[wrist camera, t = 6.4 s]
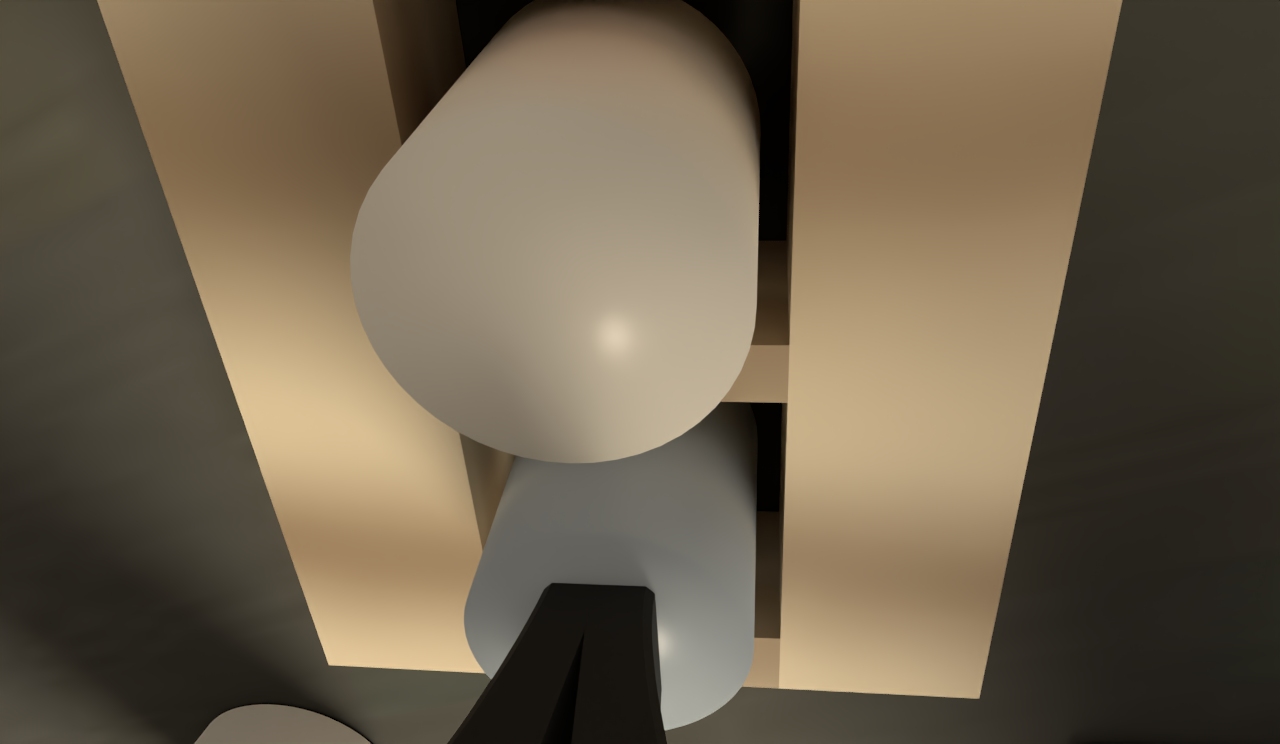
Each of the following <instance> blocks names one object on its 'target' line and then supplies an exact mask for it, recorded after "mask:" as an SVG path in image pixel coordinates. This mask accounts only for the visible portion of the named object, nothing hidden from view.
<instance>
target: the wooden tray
mask: <svg viewBox="0 0 1280 744" xmlns="http://www.w3.org/2000/svg"><path fill="white" fill-rule="evenodd" d="M97 2H98V5H99V7H100V10H101V13H102V16H103V19H104V22H105V25H106V27H107V30H108V33H109V36H110V39H111V42H112V45H113V48H114V50H115V53H116V56H117V59H118V62H119V65H120V68H121V70H122V73H123V76H124V79H125V82H126V85H127V88H128V91H129V93H130V96H131V99H132V102H133V105H134V108H135V111H136V113H137V116H138V119H139V122H140V125H141V128H142V131H143V134H144V136H145V139H146V142H147V145H148V148H149V151H150V154H151V156H152V159H153V162H154V165H155V168H156V171H157V174H158V177H159V179H160V182H161V185H162V188H163V191H164V194H165V197H166V200H167V202H168V205H169V208H170V211H171V214H172V217H173V220H174V222H175V225H176V228H177V231H178V234H179V237H180V240H181V243H182V245H183V248H184V251H185V254H186V257H187V260H188V263H189V265H190V268H191V271H192V274H193V277H194V280H195V283H196V286H197V288H198V291H199V294H200V297H201V300H202V303H203V306H204V308H205V311H206V314H207V317H208V320H209V323H210V326H211V329H212V331H213V334H214V337H215V340H216V343H217V346H218V349H219V351H220V354H221V357H222V360H223V363H224V366H225V369H226V372H227V374H228V377H229V380H230V383H231V386H232V389H233V392H234V394H235V397H236V400H237V403H238V406H239V409H240V412H241V415H242V417H243V420H244V423H245V426H246V429H247V432H248V435H249V437H250V440H251V443H252V446H253V449H254V452H255V455H256V458H257V460H258V463H259V466H260V469H261V472H262V475H263V478H264V481H265V483H266V486H267V489H268V492H269V495H270V498H271V501H272V503H273V506H274V509H275V512H276V515H277V518H278V521H279V524H280V526H281V529H282V532H283V535H284V538H285V541H286V544H287V546H288V549H289V552H290V555H291V558H292V561H293V564H294V567H295V569H296V572H297V575H298V578H299V581H300V584H301V587H302V589H303V592H304V595H305V598H306V601H307V604H308V607H309V610H310V612H311V615H312V618H313V621H314V624H315V627H316V630H317V632H318V635H319V638H320V641H321V644H322V647H323V650H324V653H325V655H326V658H327V661H328V664H329V665H338V666H357V667H376V668H396V669H415V670H434V671H454V672H473V673H485V672H484V671H483V669H482V668H481V667H480V665H479V664H478V662H477V661H476V659H475V657H474V655H473V653H472V651H471V649H470V647H469V644H468V641H467V638H466V635H465V628H464V609H465V605H466V601H467V597H468V594H469V591H470V588H471V585H472V582H473V579H474V576H475V573H476V571H477V568H478V565H479V562H480V559H481V556H482V553H483V550H484V547H485V544H486V541H487V538H488V535H489V532H490V529H491V526H492V523H493V521H494V518H495V515H496V512H497V509H498V506H499V503H500V500H501V497H502V494H503V491H504V488H505V485H506V482H507V479H508V476H509V474H510V471H511V468H512V465H513V462H514V459H515V456H516V455H513V454H510V453H506V452H502V451H499V450H497V449H494V448H492V447H489V446H487V445H484V444H482V443H479V442H477V441H475V440H473V439H471V438H469V437H467V436H465V435H463V434H461V433H459V432H457V431H455V430H454V429H452V428H451V427H449V426H448V425H446V424H445V423H443V422H442V421H440V420H438V419H437V418H435V417H434V416H433V415H432V414H431V413H429V412H428V411H427V410H426V409H424V408H423V407H422V406H421V405H419V404H418V403H417V402H416V401H415V400H414V399H413V398H412V397H411V396H410V395H409V394H408V393H407V392H406V391H405V390H404V389H403V388H402V387H401V386H400V385H399V384H398V383H397V381H396V380H395V379H394V378H393V376H392V375H391V374H390V373H389V371H388V370H387V369H386V368H385V366H384V365H383V363H382V362H381V360H380V358H379V357H378V355H377V354H376V352H375V350H374V349H373V347H372V345H371V343H370V341H369V339H368V337H367V335H366V333H365V330H364V328H363V326H362V323H361V320H360V317H359V314H358V311H357V308H356V305H355V301H354V295H353V289H352V284H351V270H350V253H351V244H352V236H353V231H354V227H355V224H356V220H357V216H358V213H359V210H360V208H361V206H362V203H363V201H364V199H365V197H366V195H367V192H368V190H369V188H370V187H371V185H372V184H373V182H374V181H375V179H376V178H377V176H378V175H379V174H380V172H381V171H382V169H383V168H384V167H385V165H386V164H387V163H388V162H389V161H390V159H391V158H392V157H393V156H394V155H395V154H396V152H397V151H398V150H399V149H400V148H401V146H402V145H403V144H404V143H405V142H406V140H407V139H408V138H409V137H410V136H411V134H412V133H413V132H414V131H415V130H416V129H417V127H418V126H419V125H420V124H421V123H422V121H423V120H424V119H425V118H426V117H427V115H428V114H429V113H430V112H431V111H432V109H433V108H434V107H435V106H436V105H437V103H438V102H439V101H440V100H441V99H442V98H443V96H444V95H445V94H446V93H447V92H448V90H449V89H450V88H451V87H452V86H453V84H454V83H455V82H456V81H457V80H458V78H459V77H460V76H461V75H462V74H463V73H464V71H465V70H466V64H465V58H464V51H463V45H462V38H461V32H460V25H459V19H458V12H457V6H456V0H97ZM1121 5H1122V0H793V14H792V51H791V88H790V125H789V162H788V198H787V235H786V241H758V271H757V308H756V319H755V329H754V333H753V338H752V342H751V346H750V350H749V353H748V355H747V357H746V360H745V362H744V365H743V367H742V370H741V372H740V374H739V375H738V377H737V379H736V380H735V382H734V384H733V385H732V387H731V389H730V390H729V392H728V393H727V394H726V395H725V396H724V398H723V399H722V400H721V401H720V402H766V403H782V419H781V456H780V493H779V512H777V511H756V563H755V620H754V653H753V662H752V665H751V668H750V671H749V674H748V676H747V678H746V680H745V682H744V683H743V685H742V686H744V687H763V688H782V689H802V690H821V691H840V692H860V693H879V694H898V695H918V696H937V697H956V698H976V699H979V697H980V692H981V687H982V682H983V677H984V672H985V667H986V663H987V658H988V653H989V648H990V643H991V638H992V633H993V628H994V624H995V619H996V614H997V609H998V604H999V599H1000V594H1001V589H1002V585H1003V580H1004V575H1005V570H1006V565H1007V560H1008V555H1009V550H1010V546H1011V541H1012V536H1013V531H1014V526H1015V521H1016V516H1017V511H1018V507H1019V502H1020V497H1021V492H1022V487H1023V482H1024V477H1025V472H1026V468H1027V463H1028V458H1029V453H1030V448H1031V443H1032V438H1033V433H1034V429H1035V424H1036V419H1037V414H1038V409H1039V404H1040V399H1041V394H1042V390H1043V385H1044V380H1045V375H1046V370H1047V365H1048V360H1049V355H1050V351H1051V346H1052V341H1053V336H1054V331H1055V326H1056V321H1057V316H1058V312H1059V307H1060V302H1061V297H1062V292H1063V287H1064V282H1065V277H1066V273H1067V268H1068V263H1069V258H1070V253H1071V248H1072V243H1073V238H1074V234H1075V229H1076V224H1077V219H1078V214H1079V209H1080V204H1081V199H1082V195H1083V190H1084V185H1085V180H1086V175H1087V170H1088V165H1089V160H1090V156H1091V151H1092V146H1093V141H1094V136H1095V131H1096V126H1097V121H1098V117H1099V112H1100V107H1101V102H1102V97H1103V92H1104V87H1105V82H1106V78H1107V73H1108V68H1109V63H1110V58H1111V53H1112V48H1113V44H1114V39H1115V34H1116V29H1117V24H1118V19H1119V14H1120V9H1121Z"/></svg>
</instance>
